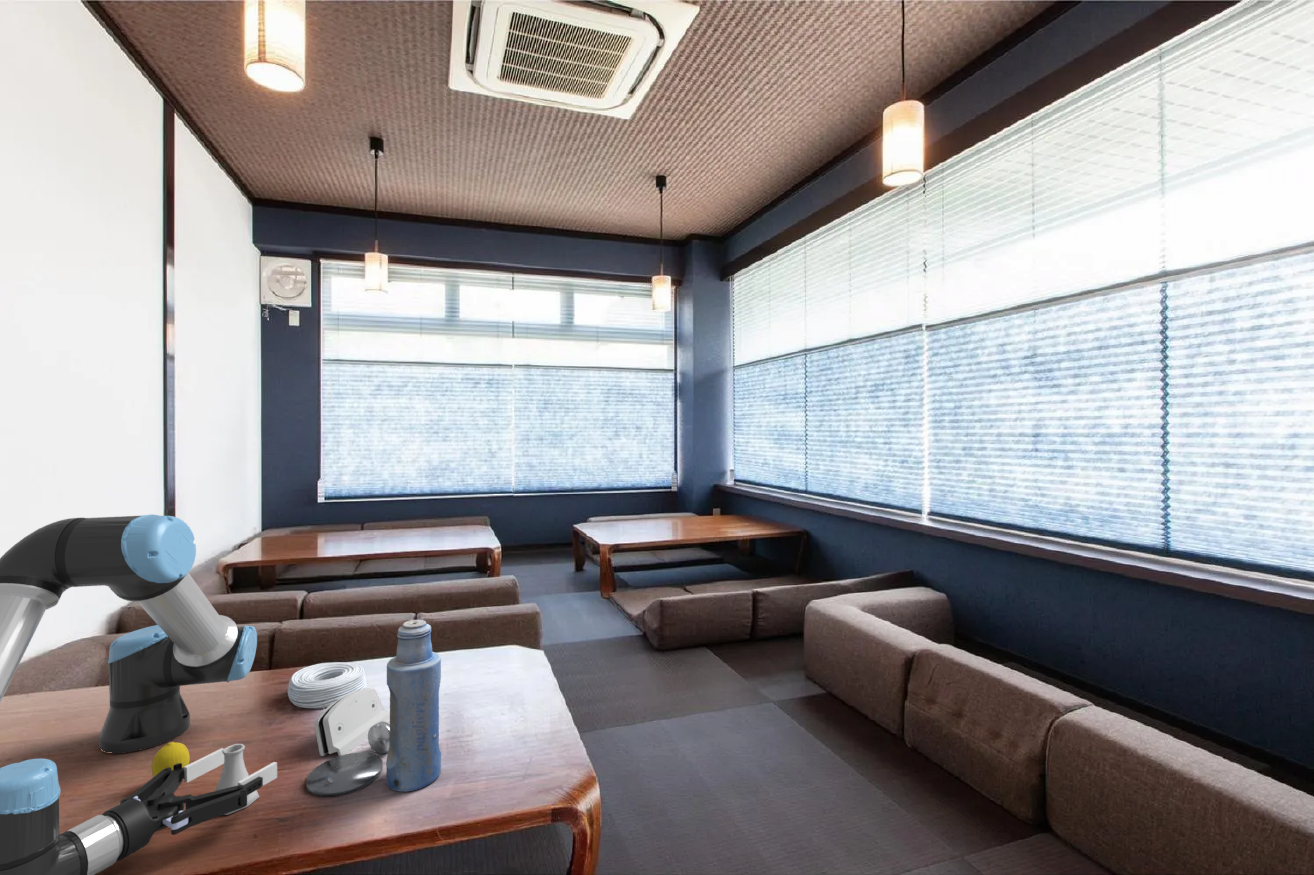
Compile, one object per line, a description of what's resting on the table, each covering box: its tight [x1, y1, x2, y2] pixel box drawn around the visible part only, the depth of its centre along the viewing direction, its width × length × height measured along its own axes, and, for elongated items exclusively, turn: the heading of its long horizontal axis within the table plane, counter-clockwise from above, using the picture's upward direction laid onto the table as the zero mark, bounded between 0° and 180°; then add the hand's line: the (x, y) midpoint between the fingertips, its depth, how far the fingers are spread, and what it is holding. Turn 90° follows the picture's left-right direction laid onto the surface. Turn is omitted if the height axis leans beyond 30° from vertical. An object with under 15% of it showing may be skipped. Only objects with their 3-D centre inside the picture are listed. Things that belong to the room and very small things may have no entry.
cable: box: [286, 661, 368, 709], centre depth 149 cm, size 18×18×6 cm
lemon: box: [151, 741, 191, 778], centre depth 111 cm, size 6×6×8 cm
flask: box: [214, 743, 260, 816], centre depth 106 cm, size 7×7×10 cm
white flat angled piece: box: [314, 688, 390, 757], centre depth 129 cm, size 17×5×10 cm, turn 168°
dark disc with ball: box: [306, 721, 390, 798], centre depth 120 cm, size 13×26×6 cm, turn 160°
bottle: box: [385, 619, 442, 792], centre depth 113 cm, size 10×10×30 cm
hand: (249, 762), depth 108 cm, fingers open, 13 cm apart
